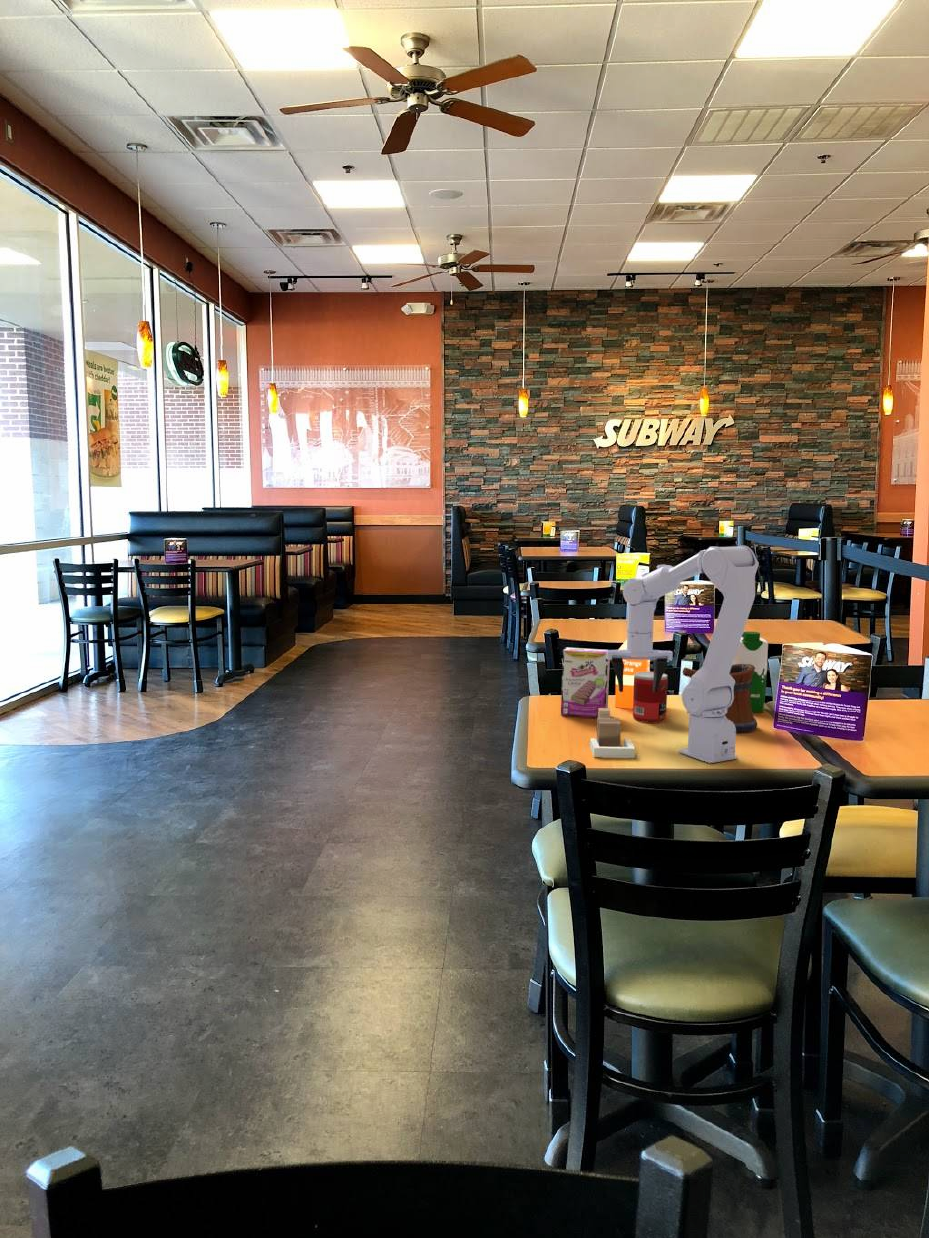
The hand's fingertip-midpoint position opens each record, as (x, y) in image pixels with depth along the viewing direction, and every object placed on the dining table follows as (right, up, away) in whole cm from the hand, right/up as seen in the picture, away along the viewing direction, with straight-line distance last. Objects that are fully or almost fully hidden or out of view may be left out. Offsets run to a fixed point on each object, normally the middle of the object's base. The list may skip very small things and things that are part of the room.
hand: (638, 691), depth 210 cm
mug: (+20, -9, +8) cm, 24 cm away
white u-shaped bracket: (-8, -12, -14) cm, 20 cm away
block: (-8, -11, -5) cm, 14 cm away
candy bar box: (-10, -8, +19) cm, 22 cm away
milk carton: (+33, -7, +27) cm, 43 cm away
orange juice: (+4, -6, +31) cm, 32 cm away
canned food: (+6, -8, +16) cm, 19 cm away
